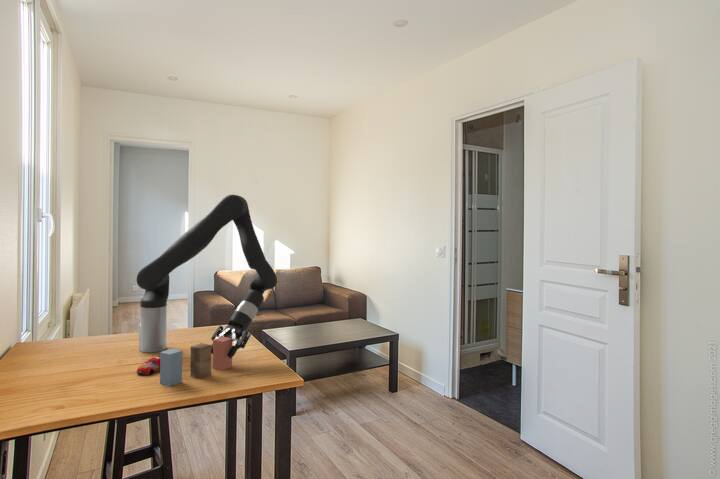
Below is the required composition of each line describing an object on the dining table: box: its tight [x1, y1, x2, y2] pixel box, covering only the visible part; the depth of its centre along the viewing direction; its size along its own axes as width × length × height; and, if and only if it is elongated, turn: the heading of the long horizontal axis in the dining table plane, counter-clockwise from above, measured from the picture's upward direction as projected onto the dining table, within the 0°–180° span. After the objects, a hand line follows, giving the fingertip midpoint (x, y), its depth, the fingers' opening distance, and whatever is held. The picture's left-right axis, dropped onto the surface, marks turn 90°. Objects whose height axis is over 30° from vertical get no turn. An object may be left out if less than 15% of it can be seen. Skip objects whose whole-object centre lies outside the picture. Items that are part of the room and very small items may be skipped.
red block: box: [212, 336, 233, 371], centre depth 147 cm, size 4×4×10 cm
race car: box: [136, 355, 160, 376], centre depth 144 cm, size 13×5×4 cm, turn 163°
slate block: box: [159, 348, 183, 387], centre depth 132 cm, size 4×4×10 cm
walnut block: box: [189, 342, 212, 380], centre depth 139 cm, size 4×4×10 cm
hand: (219, 354), depth 146 cm, fingers open, 8 cm apart
